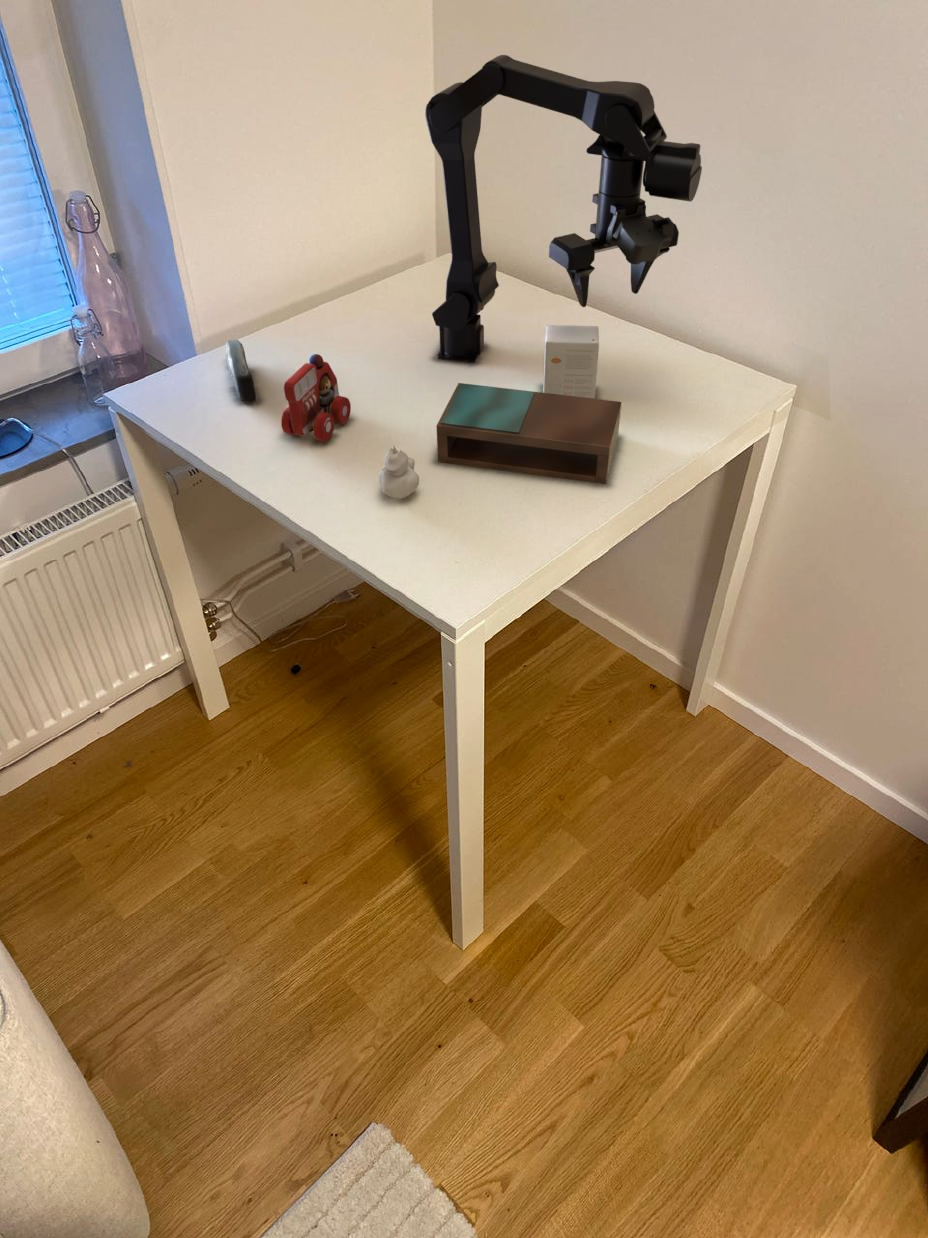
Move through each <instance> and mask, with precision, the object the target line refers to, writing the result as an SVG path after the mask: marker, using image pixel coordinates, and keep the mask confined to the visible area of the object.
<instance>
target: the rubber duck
mask: <svg viewBox="0 0 928 1238" xmlns="http://www.w3.org/2000/svg"><path fill="white" fill-rule="evenodd" d="M415 461H416V460H415V459H414V458H413V457H410V456H408V454H407V453H406V452H404V451H403V450H402V449H401V450H399V449H397V448H396V446H395V445H393V446H392V447H390V448H389V449H388V451H387V453H386V455H385V457H384V467H383V468H382V469H381V470H380V471H379V474H378V481H379V485H380V486H381V490H382V492H383V494H385V496H388V497H391V498H394V499H403V498H404V499H405V498H407V497H408V496H409V495H411V494H413V493H414V492H415V491H416V490H417V488H418V487H419V485H420V476H419V474H418V473H417V472H415V465H416V462H415Z"/></svg>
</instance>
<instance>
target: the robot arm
mask: <svg viewBox="0 0 928 1238" xmlns="http://www.w3.org/2000/svg"><path fill="white" fill-rule="evenodd" d="M498 95H500V96H503V97H506V98H510V99H513V100H515V101H520V102H522V103H526V104H529V105H532V106H535V107H539V108H542V109H546V110H549V111H553V112H557V113H558V114H559V113H560V114H563V115H566V116H570V117H573V118H575V119H577V120H579V121H581V122H582V123H583V124H584V125H585V126H586V127H588V129H590V130H591V132H594V133H596V134H597V135H598V136H597V138H596V139H595V141H594V142H593V143H592V144H590V145H589V146H588V147H587V148H586V149H585V150H586V153H587V154H588V155H595V156H601V160H600V171H599V182H598V193H593V194H592V201H591V202H592V203H594V204H595V205H596V206H597V207H596V217H595V219H596V220H595V222H594V223H590V227H589V232H590V233H591V234H593V235H594V238H590V239H585V238H584V237H582V236H580V235H579V234H577V233H576V232H574V233H569V234H564V235H561V236H560V235H559V236H556V237H553V239H552V240H551V241H550V243H549V245H548V249H549V250H548V258H550V259H551V260H553V261H554V262H555V263H557V264H558V265H560V266H561V267H563V268H564V269H565V270H566V272H567V274H568V276H569V279H570V281H571V284H572V287H573V290H574V292H575V295H576V298H577V301H578V304H579V306H581V307H582V308H586V307H587V305H588V304H587V303H588V298H589V285H590V275H591V274H592V273H593V271H595V269H596V267H595V266H593V265H592V264H593V263H594V261H595V255H596V254H597V253H600V252H601V253H602V252H605V251H609V250H614V249H619V250H620V251H621V253H622V254H623V255H624V257H625V260H626V261H627V263H629V264H630V289H631V293H633V294H634V295H636V294H638V293H639V292H640V289H642V288H641V287H642V285H643V284H644V281H645V279H646V278H647V275H648V274H649V271H650V270H651V268H652V266H653V264H654V262H655V260H657V259H658V258H660V257H661V256H662V255H664V254H666V253H668V252H669V251H670V250H671V248H672V247H676V246H677V245H678V243H679V235H680V232H679V228H678V226H677V224H676V223H674V222H673V221H672V219H671V218H670V217H669V216H668V217H667V216H666V217H663V216H661V215H659V214H652V215H648V216H647V212H646V211H647V205H646V200H644V199H642V198H641V192H642V185H643V187H644V192H647V193H648V195H649V196H650V197H657V198H663V199H670V200H677V201H684V202H693V201H694V200H695V197H696V194H697V192H698V189H699V185H700V180H701V176H702V171H703V166H701V165H702V157H701V154H700V153H701V152H700V151H701V145H700V143H693V142H687V143H682V142H675V141H674V142H673V141H666V140H667V138H668V135H667V133H666V131H665V129H664V127H663V125H662V123H661V121H660V119H659V117H658V114H657V113H656V111H655V100H654V97H653V95H652V93H651V90H650V89H649V87H647V86H646V85H644V84H643V83H641V82H634V81H621V80H606V81H590V80H586V79H582V78H579V77H575V76H573V75H568V74H566V73H563V72H558V71H555V70H552V69H548V68H544V67H541V66H539V65H534V64H530V63H528V62H525V61H524V62H523V61H520V60H517V59H514V58H513V57H511V56H510V55H507V54H500V55H497V56H496V57H494V58H492V59H490V60H488V61H487V62H486V63H485V64H484V65H482V67H481V68H480V69H479V70H478V71H477V72H475V73H474V74H473V75H472V76H470V77H469V78H468V79H467V80H465V81H460V82H456V83H454V84H451V85H450V86H448V87H447V88H445V89H443V90H441V91H440V92H438V93H436V94H435V95H433V96H431V98H430V99H429V101H428V103H427V104H426V105H425V110H424V111H425V113H424V116H425V121H426V126H427V129H428V133H429V137H430V140H431V141H430V142H431V143H432V146H433V148H434V149H435V150H436V152H437V154H438V156H439V157H440V160H441V164H442V172H443V181H444V190H445V191H444V192H445V194H444V195H445V202H446V212H447V222H448V229H449V230H448V232H449V240H450V251H451V261H450V266H449V269H448V273H447V276H446V283H445V301H444V302H442V303H441V304H440V306H439V305H438V307H437V308H436V309H434V311H433V312H432V313H431V316H432V319H433V321H434V324H435V326H436V327H439V351H438V353H437V355H436V358H437V359H438V360H443V361H453V362H460V363H461V362H463V363H470V364H471V363H472V364H473V363H476V361H477V359H478V358H479V356H480V355H481V354H482V352H483V350H484V348H485V326H484V324H482V323H481V321H482V320H481V314H479V313H480V312H481V311H483V310H484V309H485V306H486V305H487V304H489V302H490V301H491V300H492V299H493V297H494V296H495V294H496V289H498V287H500V284H499V282H498V278H497V269H498V267H497V262H496V261H490V262H489V261H488V260H487V258H486V256H485V255H484V253H483V245H482V235H481V220H480V210H479V198H478V197H479V196H478V184H477V173H476V172H477V171H476V159H475V158H476V157H475V155H476V153H475V152H476V149H477V145H478V142H479V136H480V133H481V128H482V126H481V125H482V114H483V113H482V112H483V108H484V107H485V106H486V105H487V104H488V103H490V102H491V101H492V100H494V99H495V98H496V97H497V96H498ZM643 134H644V135H643Z"/></svg>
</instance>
